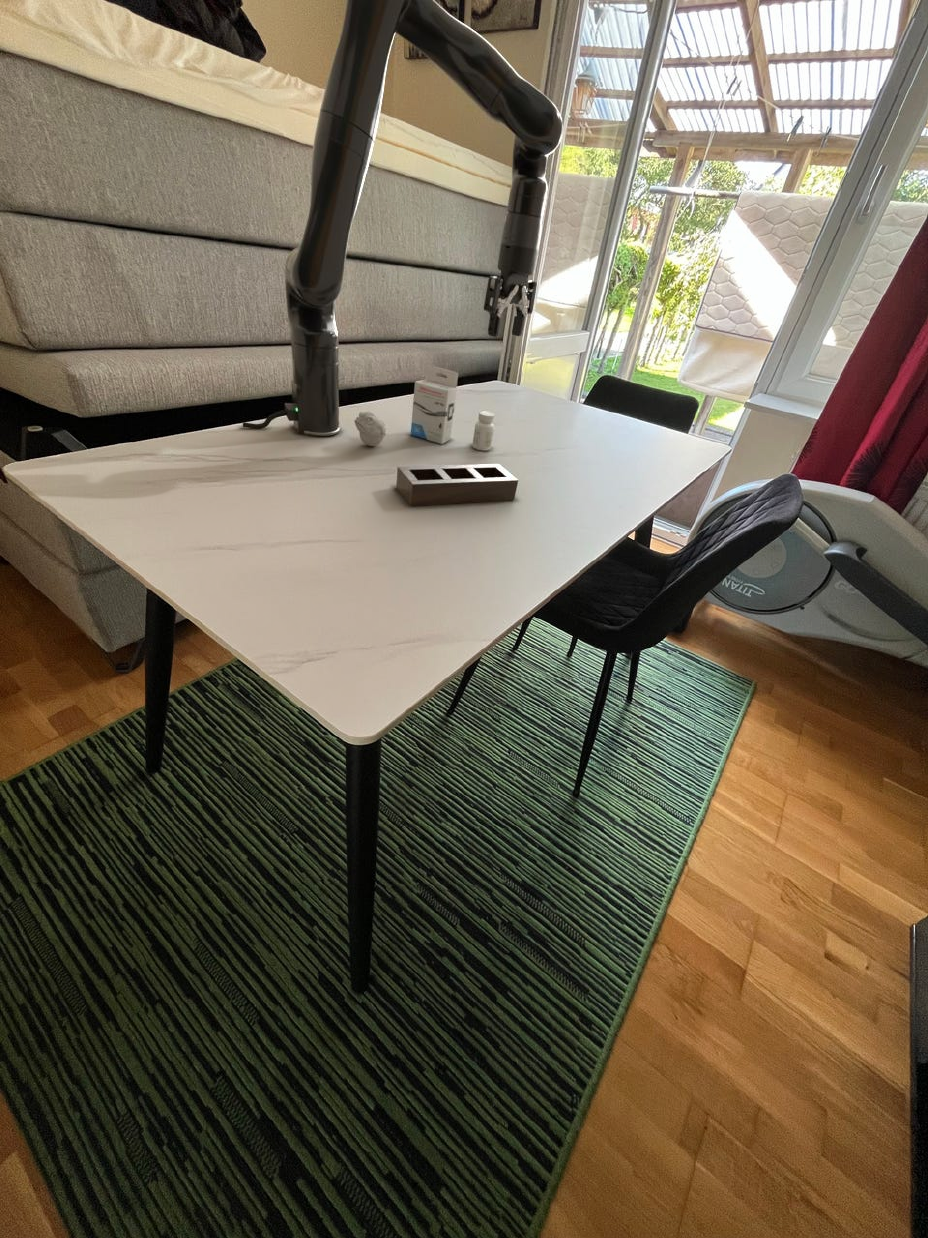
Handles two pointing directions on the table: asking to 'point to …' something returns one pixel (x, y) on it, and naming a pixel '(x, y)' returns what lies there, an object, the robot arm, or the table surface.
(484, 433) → the pill bottle
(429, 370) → the ink box
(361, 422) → the white lumpy lump
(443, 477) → the holder
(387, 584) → the table surface
